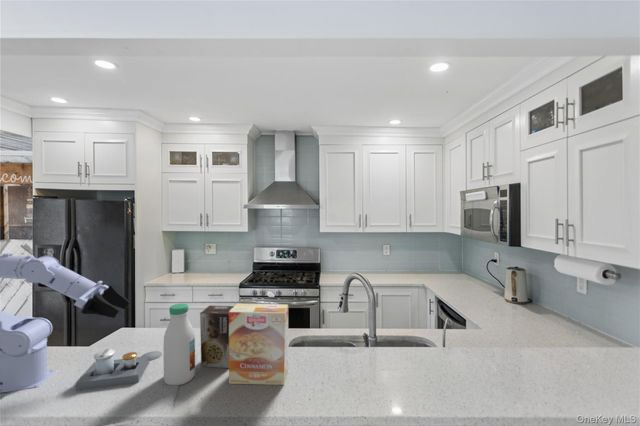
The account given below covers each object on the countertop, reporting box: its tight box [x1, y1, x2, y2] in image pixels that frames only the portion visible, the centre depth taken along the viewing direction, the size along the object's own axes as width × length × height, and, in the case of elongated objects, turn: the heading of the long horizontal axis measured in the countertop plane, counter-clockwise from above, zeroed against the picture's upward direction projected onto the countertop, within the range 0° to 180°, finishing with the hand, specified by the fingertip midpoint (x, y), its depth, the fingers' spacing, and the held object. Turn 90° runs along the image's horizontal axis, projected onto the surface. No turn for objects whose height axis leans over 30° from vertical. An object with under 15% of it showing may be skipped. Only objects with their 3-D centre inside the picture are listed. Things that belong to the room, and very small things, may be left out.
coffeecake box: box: [228, 303, 289, 386], centre depth 83 cm, size 15×7×20 cm, turn 88°
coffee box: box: [199, 305, 235, 369], centre depth 90 cm, size 9×6×16 cm
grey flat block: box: [75, 356, 150, 392], centre depth 83 cm, size 14×10×2 cm
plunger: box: [121, 351, 138, 370], centre depth 83 cm, size 3×3×4 cm
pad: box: [140, 350, 163, 362], centre depth 93 cm, size 6×6×1 cm
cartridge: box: [93, 348, 116, 376], centre depth 82 cm, size 5×5×7 cm
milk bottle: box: [163, 303, 196, 386], centre depth 82 cm, size 8×8×20 cm
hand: (122, 309), depth 84 cm, fingers open, 7 cm apart
